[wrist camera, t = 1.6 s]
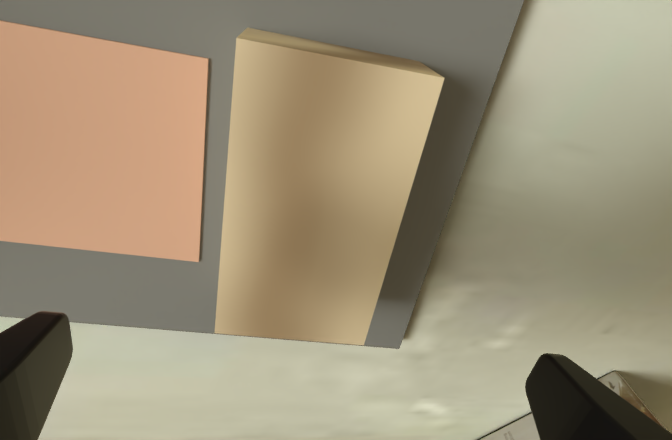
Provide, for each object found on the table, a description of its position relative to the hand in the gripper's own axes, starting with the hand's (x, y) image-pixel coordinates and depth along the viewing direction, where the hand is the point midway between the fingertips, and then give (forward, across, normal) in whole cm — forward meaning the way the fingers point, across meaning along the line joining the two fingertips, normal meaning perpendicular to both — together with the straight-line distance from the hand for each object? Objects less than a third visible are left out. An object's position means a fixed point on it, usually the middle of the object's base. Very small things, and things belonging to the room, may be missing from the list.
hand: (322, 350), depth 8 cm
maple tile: (+7, 0, 0) cm, 7 cm away
